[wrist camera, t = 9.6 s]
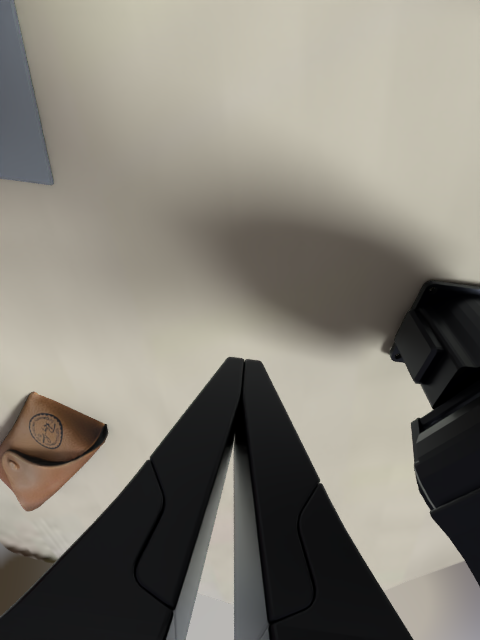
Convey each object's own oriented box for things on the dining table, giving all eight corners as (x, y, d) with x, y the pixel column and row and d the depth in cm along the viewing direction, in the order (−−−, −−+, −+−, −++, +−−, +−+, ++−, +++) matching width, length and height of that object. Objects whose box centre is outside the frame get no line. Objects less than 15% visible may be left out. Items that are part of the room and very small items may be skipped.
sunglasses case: (27, 386, 30) (25, 460, 26) (104, 388, 34) (111, 451, 31) (-17, 463, 39) (-23, 526, 35) (49, 456, 43) (50, 511, 40)
